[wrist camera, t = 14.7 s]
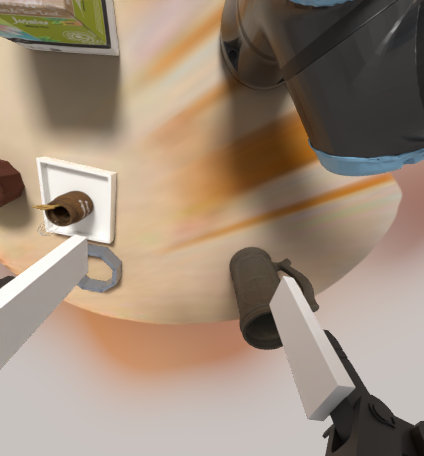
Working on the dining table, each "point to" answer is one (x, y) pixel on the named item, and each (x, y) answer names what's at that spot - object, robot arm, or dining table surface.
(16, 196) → the muffin
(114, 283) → the grey octagonal ring
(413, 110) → the robot arm
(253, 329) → the beer stein
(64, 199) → the utensil holder
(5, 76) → the dining table surface
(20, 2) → the tea box
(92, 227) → the tray
